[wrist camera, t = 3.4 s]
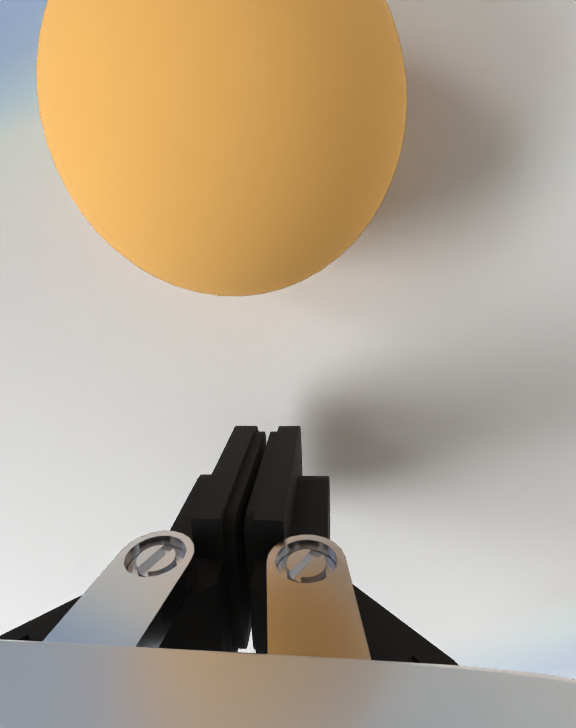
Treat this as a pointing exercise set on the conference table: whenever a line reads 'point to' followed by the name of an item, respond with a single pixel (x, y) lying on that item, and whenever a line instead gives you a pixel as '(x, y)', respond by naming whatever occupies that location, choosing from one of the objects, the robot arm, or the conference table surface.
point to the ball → (224, 130)
